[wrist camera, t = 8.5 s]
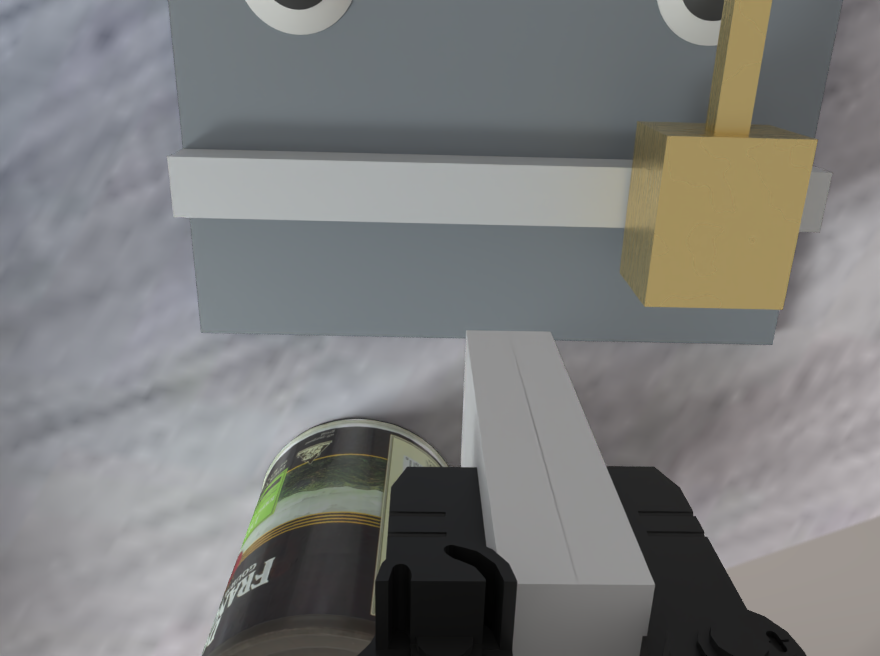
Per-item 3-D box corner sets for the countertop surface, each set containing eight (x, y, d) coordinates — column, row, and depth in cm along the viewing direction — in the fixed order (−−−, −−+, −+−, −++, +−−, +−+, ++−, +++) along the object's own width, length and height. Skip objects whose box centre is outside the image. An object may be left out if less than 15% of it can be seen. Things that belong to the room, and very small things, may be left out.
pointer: (611, 262, 32) (644, 306, 27) (648, -67, 28) (696, -88, 23) (728, 264, 32) (782, 309, 27) (784, -63, 28) (863, -83, 23)
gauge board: (208, 323, 35) (140, 412, 27) (166, -120, 29) (59, -176, 21) (761, 334, 36) (858, 426, 28) (847, -100, 29) (1008, -147, 21)
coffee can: (235, 547, 40) (138, 800, 27) (301, 387, 37) (227, 588, 24) (414, 608, 42) (404, 875, 29) (494, 460, 38) (524, 687, 25)
